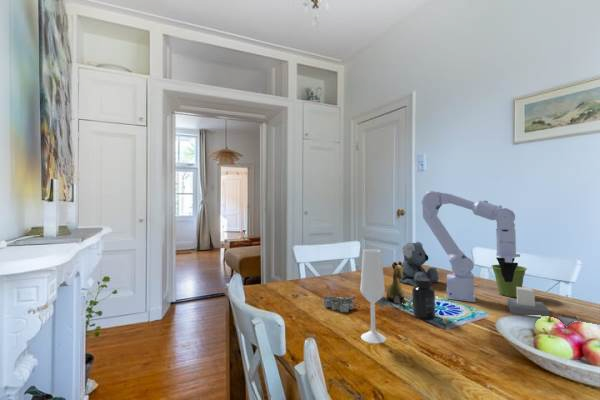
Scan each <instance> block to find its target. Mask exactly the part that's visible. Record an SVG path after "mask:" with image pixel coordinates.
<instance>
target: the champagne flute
mask: <svg viewBox="0 0 600 400" xmlns="http://www.w3.org/2000/svg"><path fill="white" fill-rule="evenodd" d="M359 291H360V293H361V295H362V296H363V298H365V300H366V301H368V302H369V303H370V330H369V331H367V332H364V333H362V334H361V335H360V338H361V340H363V341H364V342H366V343H369V344H381V343H384V342H385V341H386V340H387V338H386V336H384V335H382V334H381V333H380V332H378V331H376V303H377V302H378V300H379V299H381V298H382V296H383V297H384V295H385V294H386V293H385V292H386V287H385V278H384V268H383V260H382V251H381V250H380V249H373V248H371V249H368V248H367V249H363V250H362V261H361V274H360V289H359Z"/></svg>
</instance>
